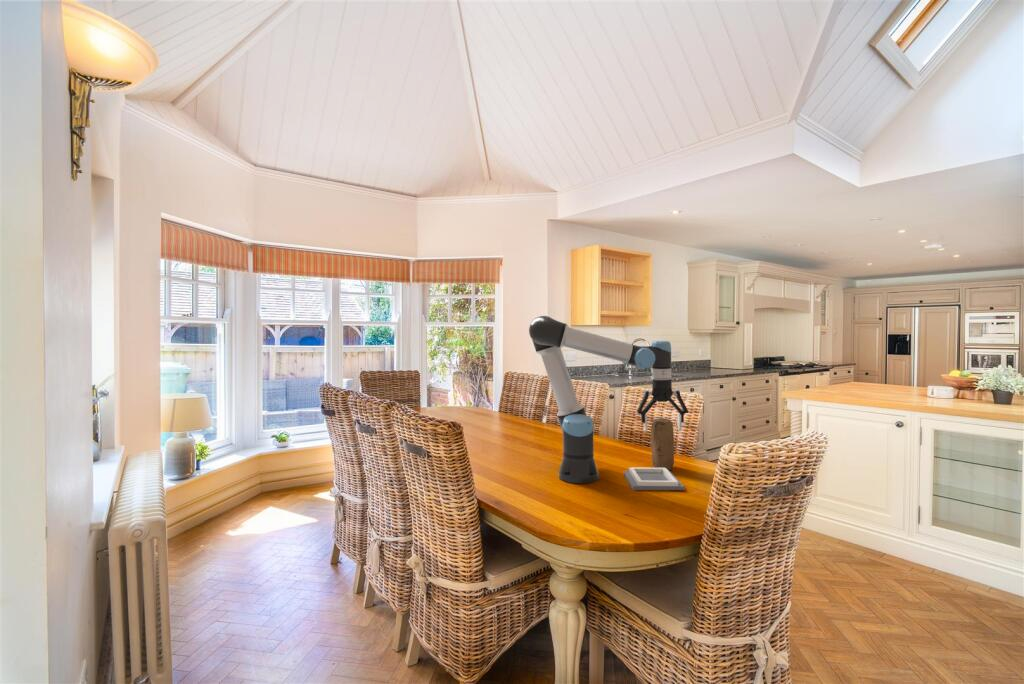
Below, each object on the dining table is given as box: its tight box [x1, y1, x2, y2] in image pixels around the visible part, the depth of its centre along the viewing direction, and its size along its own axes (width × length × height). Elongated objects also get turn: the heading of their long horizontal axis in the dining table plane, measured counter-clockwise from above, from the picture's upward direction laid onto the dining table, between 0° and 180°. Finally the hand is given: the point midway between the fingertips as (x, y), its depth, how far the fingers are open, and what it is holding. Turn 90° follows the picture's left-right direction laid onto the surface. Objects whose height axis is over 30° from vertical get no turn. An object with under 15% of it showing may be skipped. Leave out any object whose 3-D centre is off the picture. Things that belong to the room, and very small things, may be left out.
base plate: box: [623, 466, 686, 491], centre depth 175 cm, size 18×18×3 cm
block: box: [650, 418, 675, 471], centre depth 192 cm, size 11×8×20 cm
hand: (662, 430), depth 192 cm, fingers open, 13 cm apart
